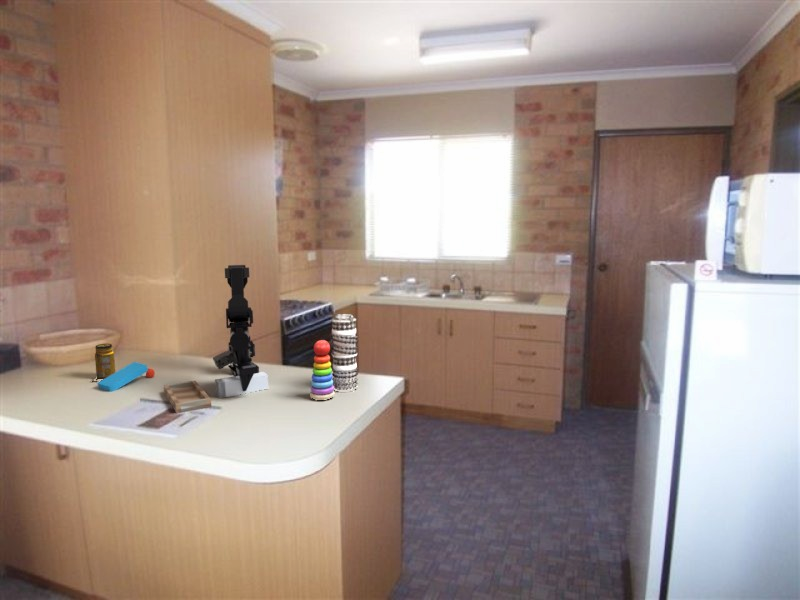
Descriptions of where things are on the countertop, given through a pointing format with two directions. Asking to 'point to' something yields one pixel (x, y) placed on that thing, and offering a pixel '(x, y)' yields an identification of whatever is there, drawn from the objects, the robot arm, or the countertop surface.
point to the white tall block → (233, 385)
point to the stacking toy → (322, 373)
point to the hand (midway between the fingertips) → (242, 388)
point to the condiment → (104, 361)
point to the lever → (125, 376)
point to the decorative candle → (344, 352)
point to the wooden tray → (187, 396)
